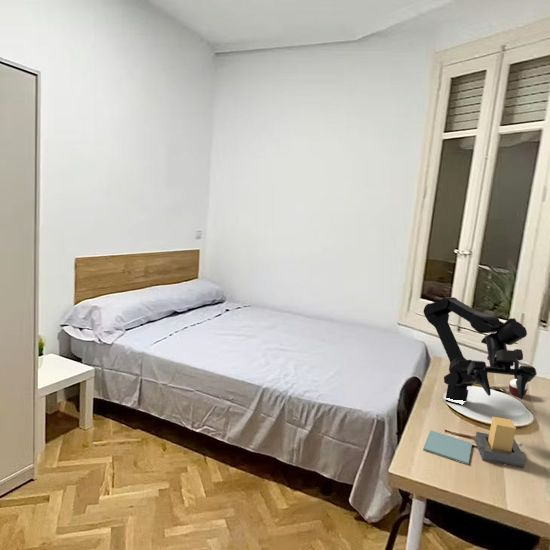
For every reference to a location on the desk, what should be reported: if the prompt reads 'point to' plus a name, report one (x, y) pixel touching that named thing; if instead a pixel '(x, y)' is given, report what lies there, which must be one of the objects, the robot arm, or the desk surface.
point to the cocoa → (513, 385)
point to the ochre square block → (501, 434)
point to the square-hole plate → (499, 452)
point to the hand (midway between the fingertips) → (505, 397)
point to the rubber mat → (448, 447)
